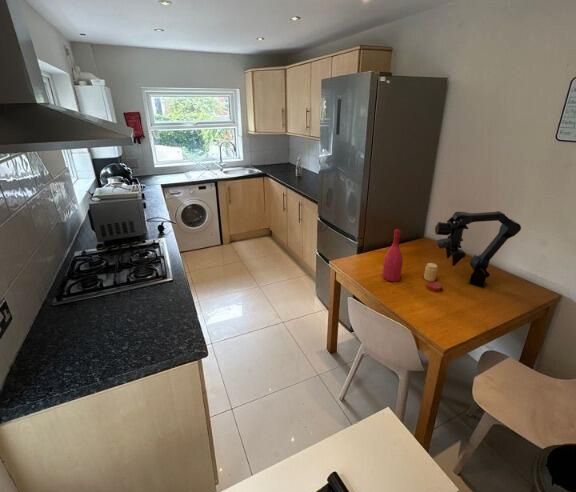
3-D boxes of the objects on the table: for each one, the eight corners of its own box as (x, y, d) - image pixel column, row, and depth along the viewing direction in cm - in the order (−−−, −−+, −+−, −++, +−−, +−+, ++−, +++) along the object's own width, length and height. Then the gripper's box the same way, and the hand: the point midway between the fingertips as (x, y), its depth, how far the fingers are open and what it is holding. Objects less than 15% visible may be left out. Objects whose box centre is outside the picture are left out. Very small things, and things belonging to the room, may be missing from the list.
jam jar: (436, 278, 172) (439, 264, 169) (433, 282, 168) (436, 268, 165) (425, 274, 176) (428, 261, 173) (422, 278, 172) (424, 265, 169)
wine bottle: (402, 282, 168) (410, 232, 157) (384, 282, 168) (391, 232, 157) (396, 273, 177) (403, 226, 166) (380, 273, 177) (386, 226, 167)
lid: (425, 288, 162) (426, 285, 162) (429, 283, 167) (430, 280, 166) (438, 293, 158) (439, 289, 158) (442, 287, 163) (443, 284, 162)
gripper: (435, 228, 170) (430, 253, 176) (445, 241, 153) (439, 268, 159) (456, 229, 169) (450, 254, 174) (469, 242, 151) (462, 270, 157)
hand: (450, 261), depth 166 cm, fingers open, 9 cm apart
